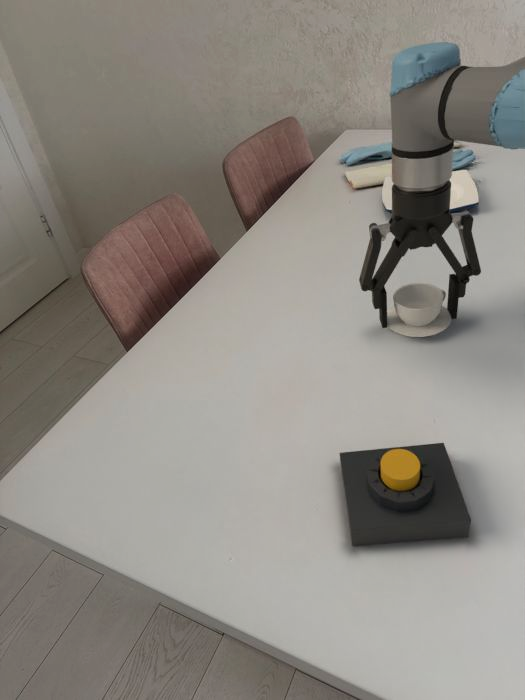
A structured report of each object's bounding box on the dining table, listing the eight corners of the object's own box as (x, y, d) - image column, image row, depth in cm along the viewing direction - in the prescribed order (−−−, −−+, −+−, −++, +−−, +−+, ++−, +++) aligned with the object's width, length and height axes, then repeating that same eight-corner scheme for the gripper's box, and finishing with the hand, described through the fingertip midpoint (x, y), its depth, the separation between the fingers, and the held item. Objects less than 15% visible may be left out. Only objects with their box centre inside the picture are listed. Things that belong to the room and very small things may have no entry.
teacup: (411, 347, 74) (411, 322, 71) (373, 316, 82) (372, 292, 79) (465, 323, 76) (467, 298, 74) (423, 295, 84) (424, 271, 81)
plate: (469, 178, 119) (470, 167, 117) (482, 216, 104) (484, 204, 102) (381, 186, 124) (381, 175, 122) (382, 223, 108) (381, 211, 107)
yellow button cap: (414, 458, 55) (415, 446, 53) (423, 489, 52) (424, 477, 50) (377, 462, 55) (377, 450, 54) (384, 493, 52) (384, 481, 51)
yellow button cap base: (441, 459, 59) (444, 432, 56) (468, 537, 52) (473, 509, 49) (341, 469, 61) (338, 442, 58) (351, 546, 53) (349, 520, 50)
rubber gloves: (334, 156, 145) (332, 133, 141) (446, 136, 144) (448, 112, 140) (353, 191, 124) (352, 165, 120) (485, 167, 122) (488, 140, 118)
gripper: (499, 157, 67) (482, 295, 81) (332, 185, 70) (343, 314, 83) (522, 177, 61) (499, 322, 75) (338, 206, 64) (349, 342, 77)
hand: (417, 318), depth 79 cm, fingers closed on teacup, 10 cm apart
